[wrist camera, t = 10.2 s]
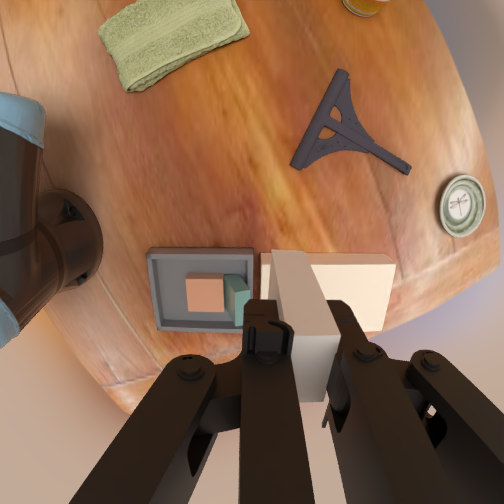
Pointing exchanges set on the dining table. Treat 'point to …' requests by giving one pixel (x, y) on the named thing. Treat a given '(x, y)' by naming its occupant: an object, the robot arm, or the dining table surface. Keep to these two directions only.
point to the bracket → (340, 130)
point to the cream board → (348, 282)
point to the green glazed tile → (235, 297)
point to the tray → (174, 285)
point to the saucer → (462, 205)
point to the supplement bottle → (365, 6)
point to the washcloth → (167, 36)
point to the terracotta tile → (205, 292)
